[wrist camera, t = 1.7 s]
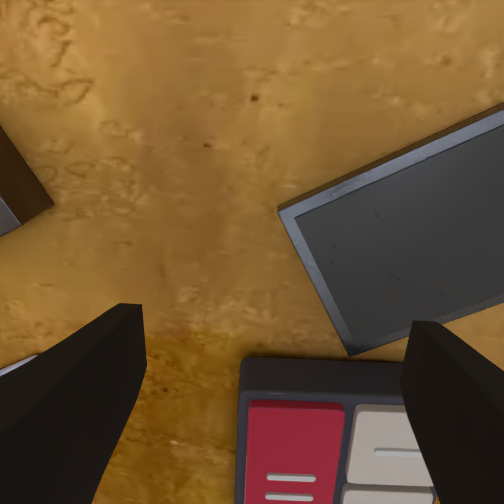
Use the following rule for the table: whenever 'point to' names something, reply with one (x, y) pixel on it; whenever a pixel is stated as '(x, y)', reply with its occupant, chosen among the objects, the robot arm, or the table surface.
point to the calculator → (326, 435)
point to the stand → (18, 189)
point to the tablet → (408, 234)
